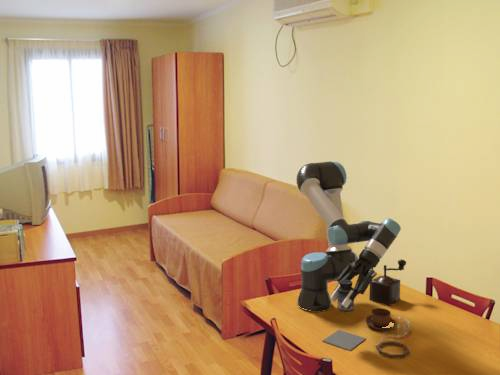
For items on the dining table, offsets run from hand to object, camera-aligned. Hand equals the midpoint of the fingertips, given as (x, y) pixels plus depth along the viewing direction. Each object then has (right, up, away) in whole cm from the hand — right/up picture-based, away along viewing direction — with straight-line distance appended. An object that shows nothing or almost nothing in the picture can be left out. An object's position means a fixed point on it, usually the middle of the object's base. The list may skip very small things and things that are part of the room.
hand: (338, 302), depth 189 cm
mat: (+3, -15, +4) cm, 16 cm away
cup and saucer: (+20, -13, +16) cm, 29 cm away
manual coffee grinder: (+31, -8, +45) cm, 55 cm away
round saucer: (+19, -17, -4) cm, 26 cm away
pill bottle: (+3, -3, +2) cm, 5 cm away
